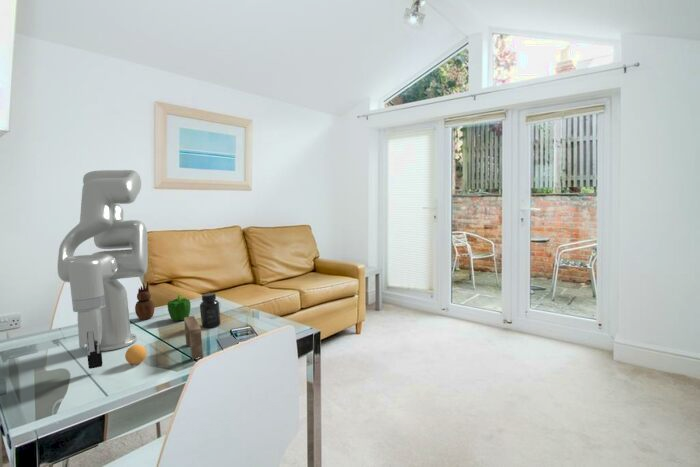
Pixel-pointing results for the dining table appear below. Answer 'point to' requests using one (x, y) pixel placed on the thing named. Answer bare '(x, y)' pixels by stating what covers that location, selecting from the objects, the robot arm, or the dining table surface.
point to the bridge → (193, 337)
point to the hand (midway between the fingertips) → (95, 366)
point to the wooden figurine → (144, 303)
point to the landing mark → (230, 341)
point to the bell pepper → (179, 308)
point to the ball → (135, 354)
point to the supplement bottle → (210, 311)
